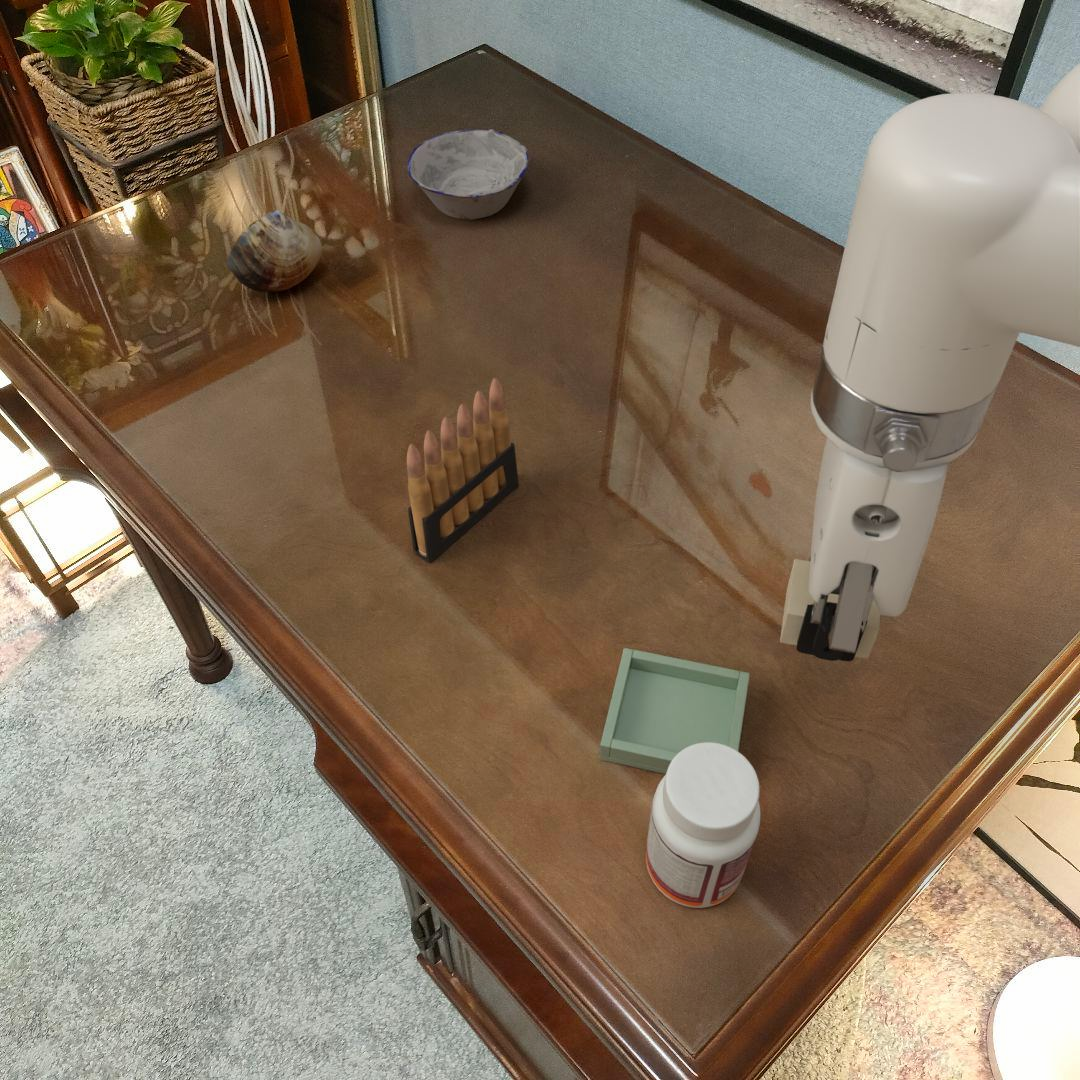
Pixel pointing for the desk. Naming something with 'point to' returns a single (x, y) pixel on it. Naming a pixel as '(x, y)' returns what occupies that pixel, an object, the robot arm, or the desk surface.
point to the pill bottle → (703, 825)
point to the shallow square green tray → (670, 709)
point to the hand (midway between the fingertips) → (828, 617)
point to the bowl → (469, 171)
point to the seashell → (274, 253)
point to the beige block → (801, 598)
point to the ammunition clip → (460, 474)
